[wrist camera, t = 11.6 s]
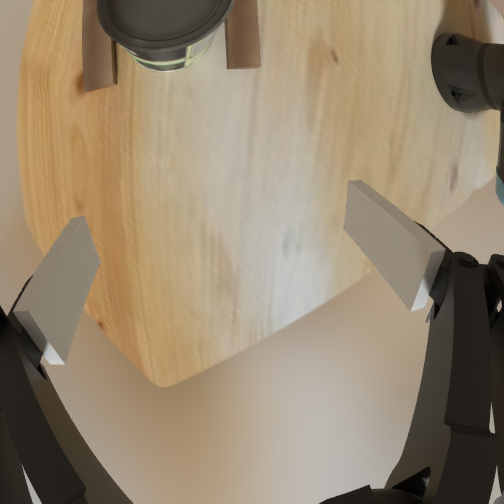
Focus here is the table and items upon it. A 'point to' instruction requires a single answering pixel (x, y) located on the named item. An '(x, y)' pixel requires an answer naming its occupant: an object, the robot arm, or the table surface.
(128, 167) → the table surface
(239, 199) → the table surface
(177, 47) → the coffee can
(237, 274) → the table surface
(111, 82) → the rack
